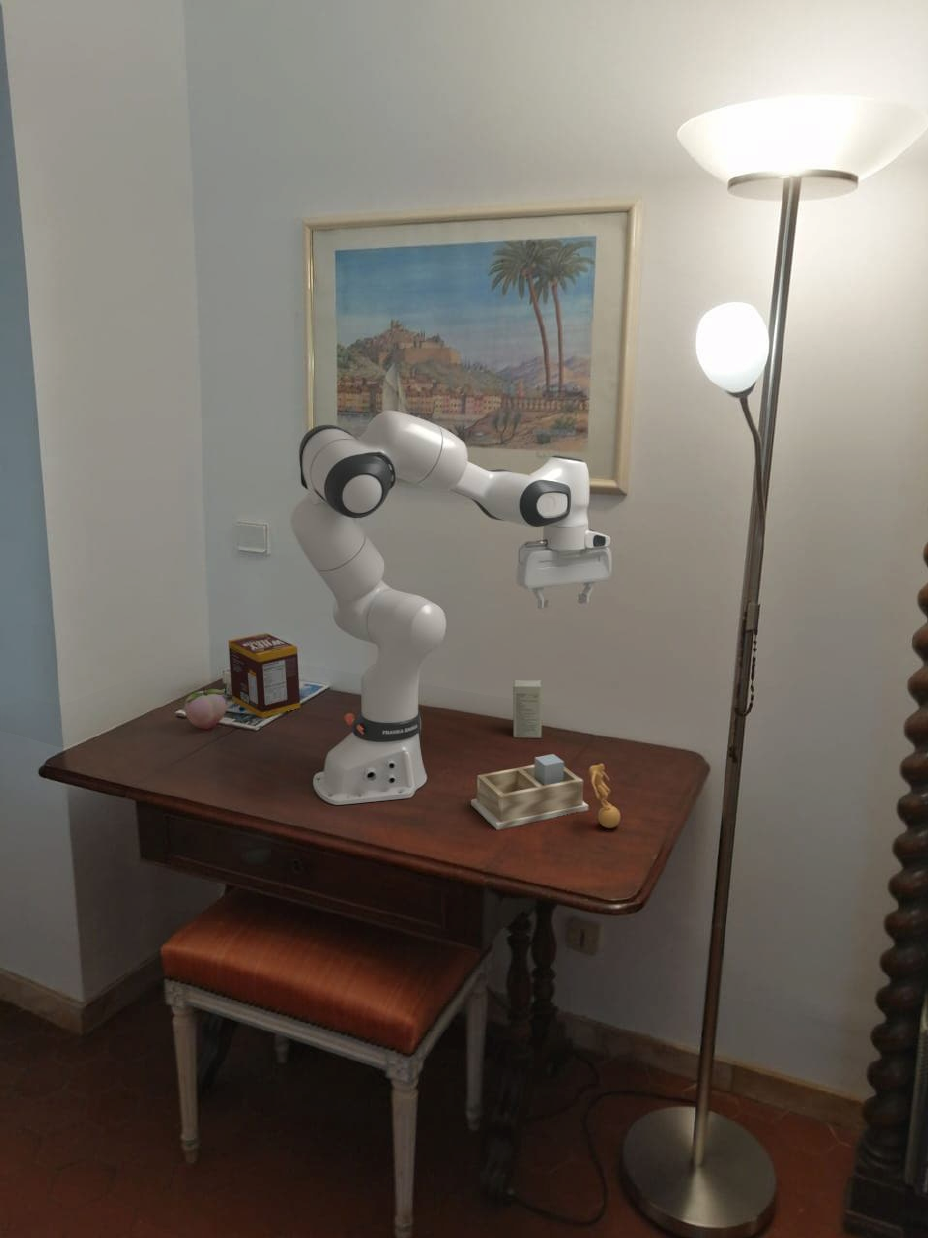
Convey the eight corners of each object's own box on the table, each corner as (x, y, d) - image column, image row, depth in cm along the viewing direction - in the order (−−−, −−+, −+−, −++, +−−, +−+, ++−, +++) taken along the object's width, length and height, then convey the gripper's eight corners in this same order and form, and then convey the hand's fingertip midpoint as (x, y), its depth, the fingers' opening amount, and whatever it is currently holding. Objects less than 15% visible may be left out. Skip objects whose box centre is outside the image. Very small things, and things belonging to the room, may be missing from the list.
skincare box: (541, 731, 219) (543, 679, 216) (541, 738, 215) (542, 686, 212) (513, 730, 220) (514, 678, 217) (512, 737, 216) (513, 685, 213)
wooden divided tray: (496, 830, 174) (497, 799, 173) (471, 804, 184) (471, 775, 182) (588, 810, 182) (589, 780, 180) (558, 786, 192) (559, 758, 190)
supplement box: (268, 691, 244) (265, 632, 240) (301, 708, 232) (298, 646, 228) (231, 701, 237) (227, 639, 233) (262, 719, 226) (258, 654, 222)
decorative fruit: (214, 719, 226) (211, 678, 223) (233, 728, 220) (231, 686, 218) (177, 729, 219) (174, 687, 217) (197, 739, 214) (193, 696, 211)
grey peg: (543, 805, 182) (545, 765, 180) (533, 796, 185) (534, 757, 183) (562, 801, 183) (563, 762, 181) (552, 792, 187) (553, 754, 185)
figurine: (614, 839, 171) (617, 776, 168) (581, 833, 173) (583, 771, 170) (624, 818, 179) (627, 758, 176) (592, 813, 181) (594, 753, 178)
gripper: (526, 545, 186) (524, 615, 190) (617, 537, 194) (614, 604, 198) (511, 539, 191) (510, 607, 195) (600, 531, 199) (597, 597, 203)
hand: (563, 605), depth 196 cm, fingers open, 8 cm apart
